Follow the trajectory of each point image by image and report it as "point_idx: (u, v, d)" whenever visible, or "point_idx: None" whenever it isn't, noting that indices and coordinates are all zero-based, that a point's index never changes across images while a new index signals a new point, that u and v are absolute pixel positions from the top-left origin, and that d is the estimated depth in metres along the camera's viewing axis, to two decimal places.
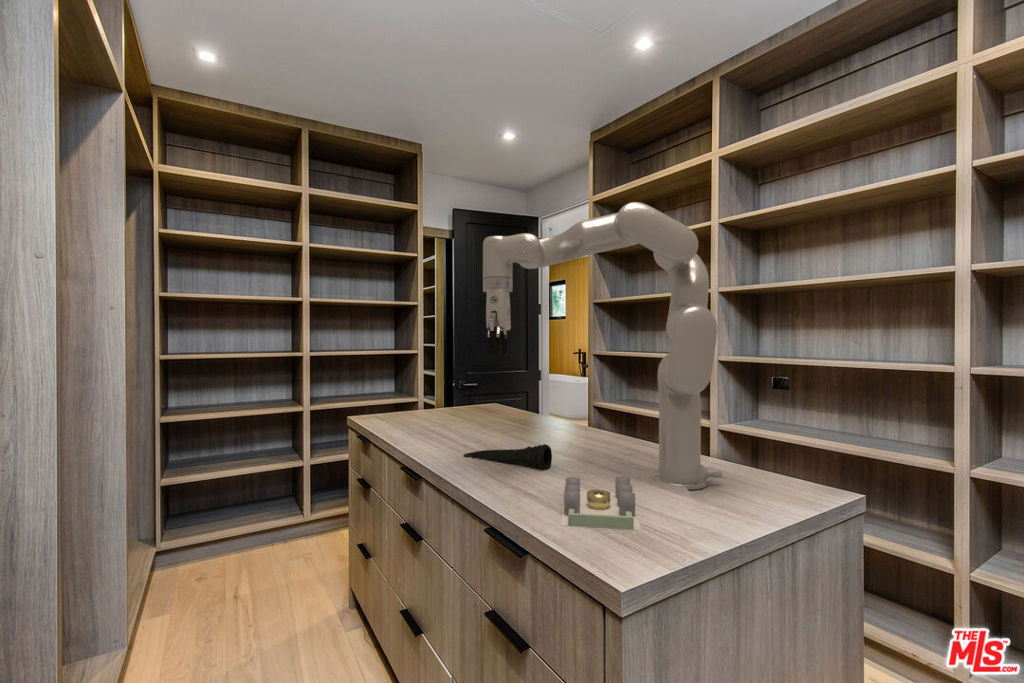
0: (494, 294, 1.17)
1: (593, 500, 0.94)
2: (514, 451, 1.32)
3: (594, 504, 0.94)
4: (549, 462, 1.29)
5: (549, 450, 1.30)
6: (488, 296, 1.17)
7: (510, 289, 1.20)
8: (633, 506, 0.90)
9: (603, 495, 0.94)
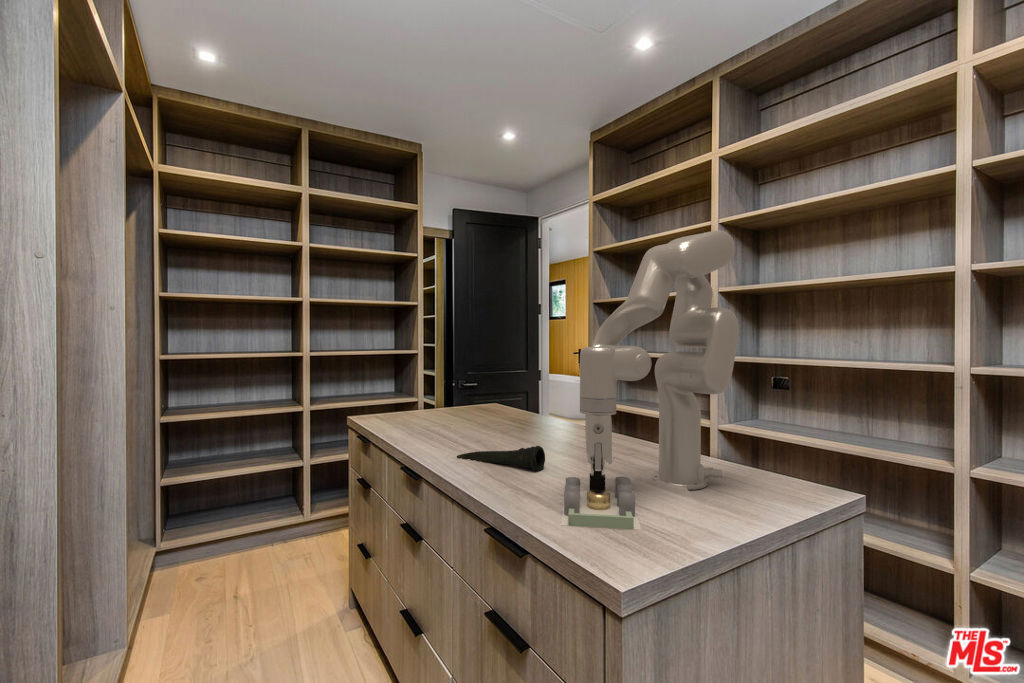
0: (598, 422, 0.95)
1: (593, 500, 0.94)
2: (507, 452, 1.30)
3: (594, 504, 0.94)
4: (542, 464, 1.28)
5: (542, 452, 1.28)
6: (590, 423, 0.96)
7: (615, 412, 0.98)
8: (633, 506, 0.90)
9: (603, 495, 0.94)
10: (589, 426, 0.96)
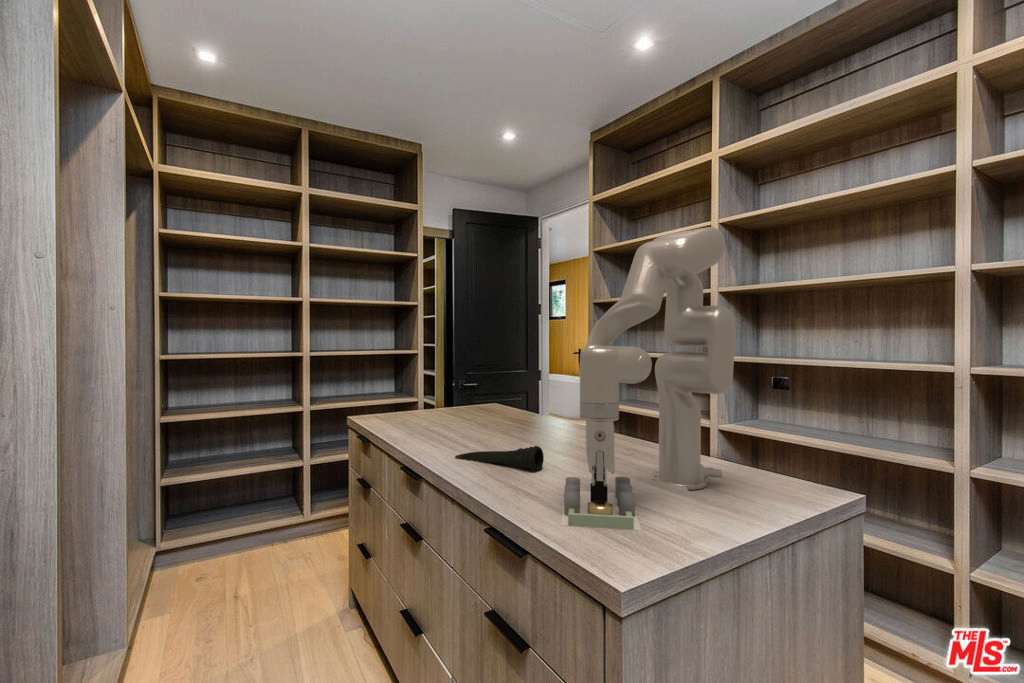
0: (600, 428, 0.89)
1: (595, 512, 0.87)
2: (505, 453, 1.30)
3: None
4: (541, 464, 1.27)
5: (541, 452, 1.28)
6: (591, 430, 0.89)
7: (617, 418, 0.91)
8: (633, 506, 0.90)
9: (605, 507, 0.88)
10: (590, 433, 0.89)
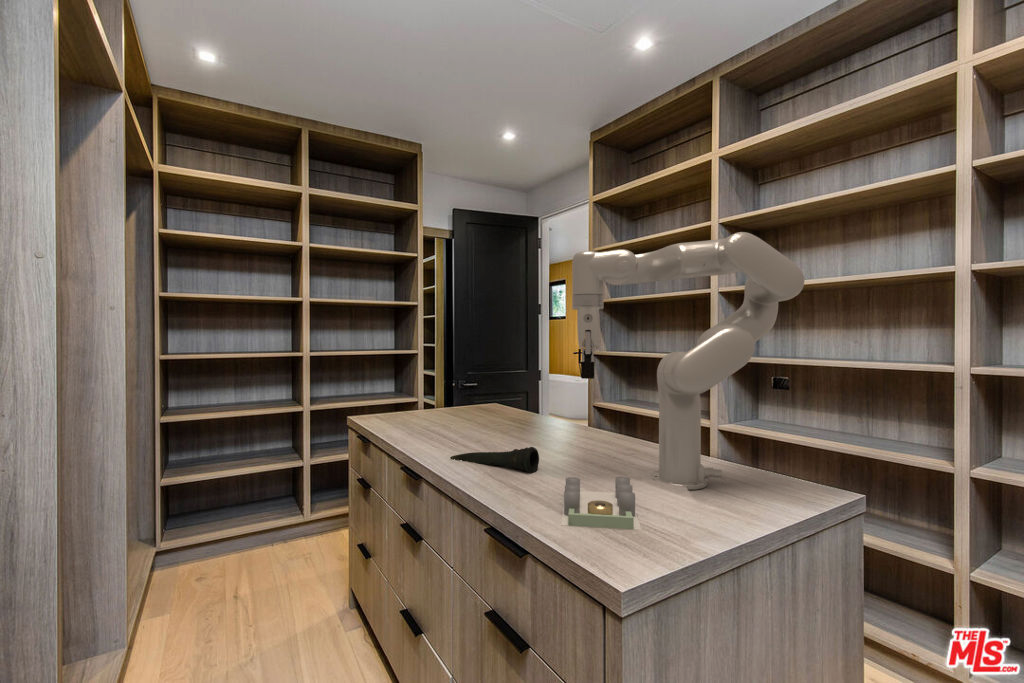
0: (588, 312, 1.12)
1: (594, 513, 0.87)
2: (500, 454, 1.29)
3: None
4: (536, 465, 1.26)
5: (536, 453, 1.27)
6: (581, 314, 1.13)
7: (602, 307, 1.15)
8: (633, 506, 0.90)
9: (605, 507, 0.88)
10: (580, 317, 1.13)
